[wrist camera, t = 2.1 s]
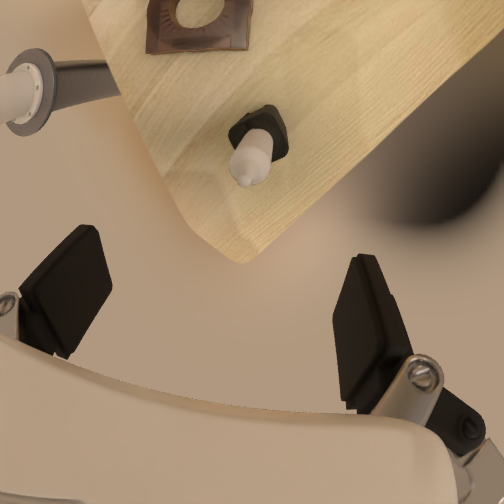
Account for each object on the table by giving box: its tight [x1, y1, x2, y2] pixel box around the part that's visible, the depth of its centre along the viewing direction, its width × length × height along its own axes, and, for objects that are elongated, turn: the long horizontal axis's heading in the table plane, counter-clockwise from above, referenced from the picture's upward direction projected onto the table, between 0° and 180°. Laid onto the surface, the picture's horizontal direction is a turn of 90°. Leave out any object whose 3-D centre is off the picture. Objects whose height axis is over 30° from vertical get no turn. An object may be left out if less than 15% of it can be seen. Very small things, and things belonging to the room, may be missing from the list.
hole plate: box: [146, 0, 253, 55], centre depth 26 cm, size 14×14×2 cm
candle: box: [228, 105, 289, 188], centre depth 27 cm, size 5×5×25 cm
